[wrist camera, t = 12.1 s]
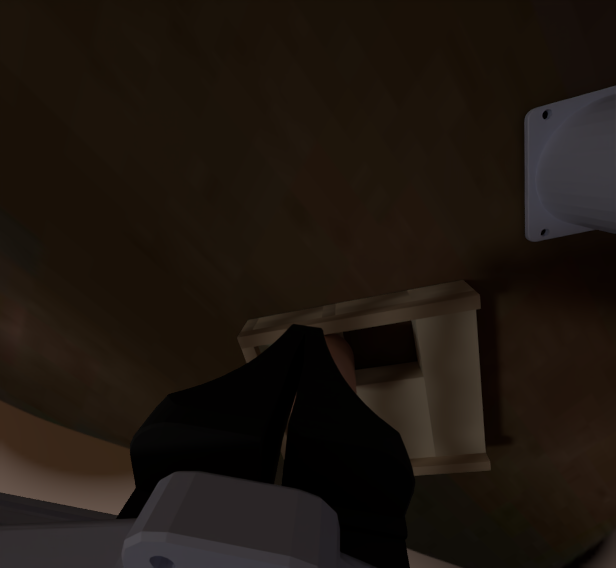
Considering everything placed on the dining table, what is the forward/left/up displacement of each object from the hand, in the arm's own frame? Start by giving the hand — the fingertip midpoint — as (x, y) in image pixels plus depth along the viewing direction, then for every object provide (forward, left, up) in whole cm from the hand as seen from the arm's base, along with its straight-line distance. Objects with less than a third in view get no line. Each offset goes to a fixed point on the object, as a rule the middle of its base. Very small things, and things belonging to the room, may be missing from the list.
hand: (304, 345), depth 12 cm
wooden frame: (-2, +11, -10) cm, 15 cm away
